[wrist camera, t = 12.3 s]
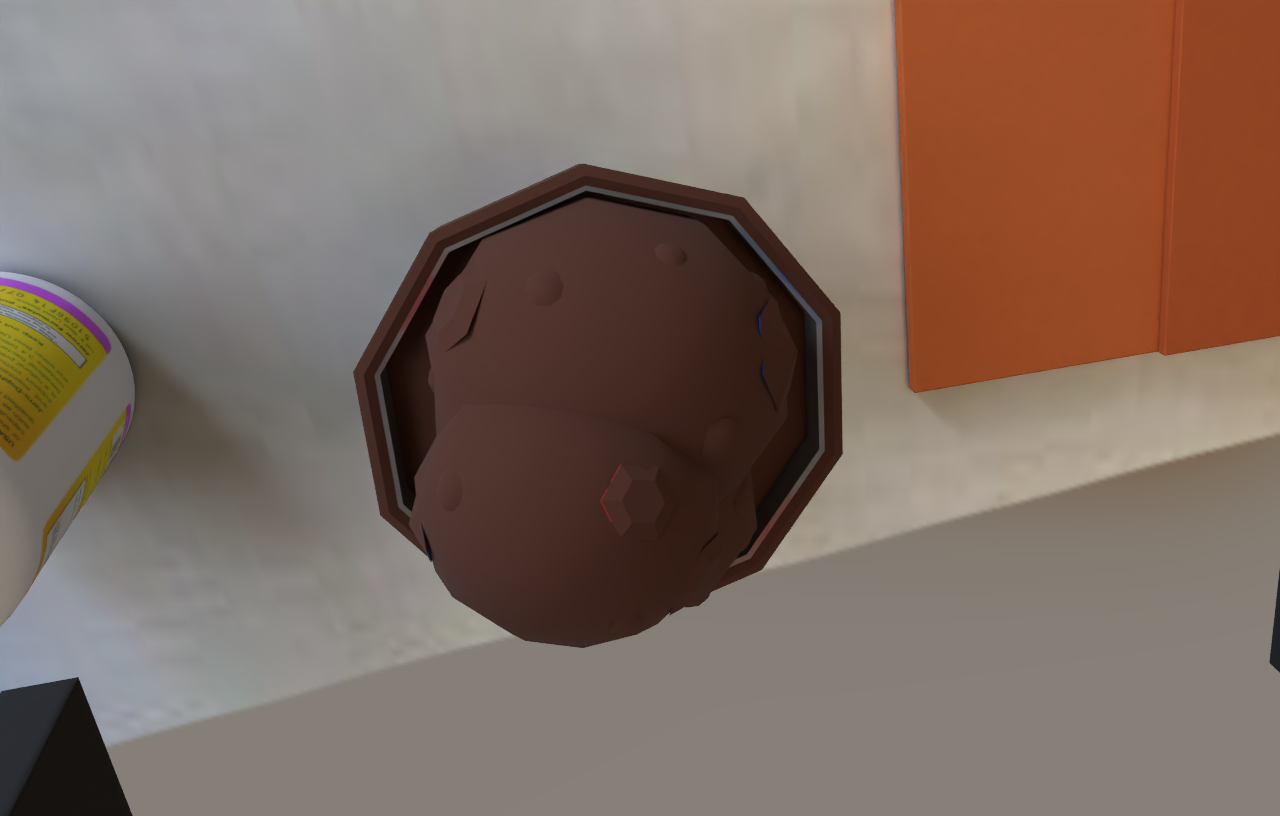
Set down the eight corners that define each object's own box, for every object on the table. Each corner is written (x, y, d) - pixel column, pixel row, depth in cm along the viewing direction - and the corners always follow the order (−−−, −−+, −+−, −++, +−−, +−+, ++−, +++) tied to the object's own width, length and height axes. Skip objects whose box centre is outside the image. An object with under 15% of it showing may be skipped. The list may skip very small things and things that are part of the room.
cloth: (893, -9, 33) (904, -8, 32) (1433, -89, 34) (1457, -89, 33) (908, 387, 38) (918, 398, 37) (1382, 306, 39) (1402, 315, 38)
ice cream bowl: (709, 480, 38) (846, 800, 24) (355, 424, 36) (284, 743, 22) (801, 152, 34) (1023, 313, 21) (413, 66, 32) (370, 182, 18)
